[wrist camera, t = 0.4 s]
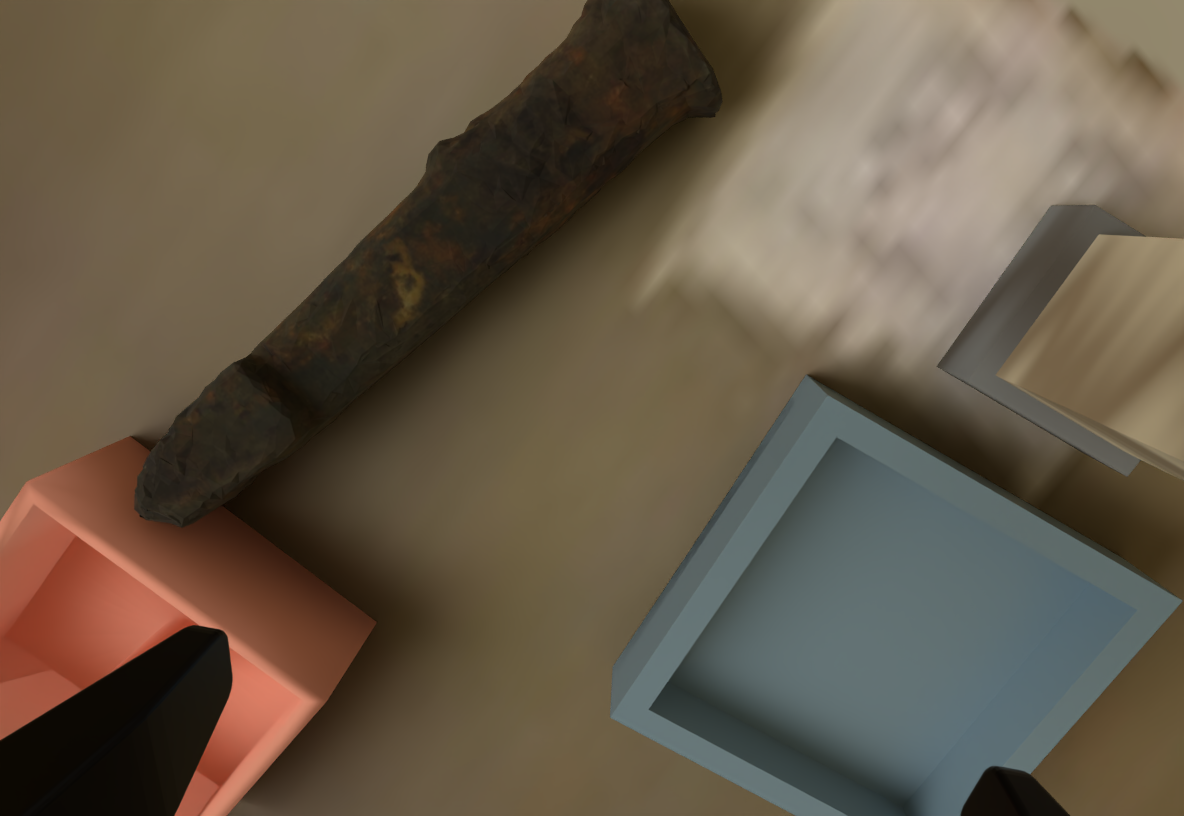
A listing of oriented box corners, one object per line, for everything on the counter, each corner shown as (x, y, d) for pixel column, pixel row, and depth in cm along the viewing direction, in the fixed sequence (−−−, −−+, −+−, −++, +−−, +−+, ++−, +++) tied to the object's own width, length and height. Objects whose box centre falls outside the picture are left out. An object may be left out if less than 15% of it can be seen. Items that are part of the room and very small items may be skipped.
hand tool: (629, -19, 20) (625, -88, 15) (722, 110, 20) (745, 80, 16) (143, 415, 23) (24, 463, 19) (234, 512, 24) (139, 580, 20)
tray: (902, 821, 25) (930, 886, 23) (612, 666, 24) (610, 717, 22) (1123, 558, 22) (1182, 600, 20) (806, 374, 21) (828, 395, 19)
